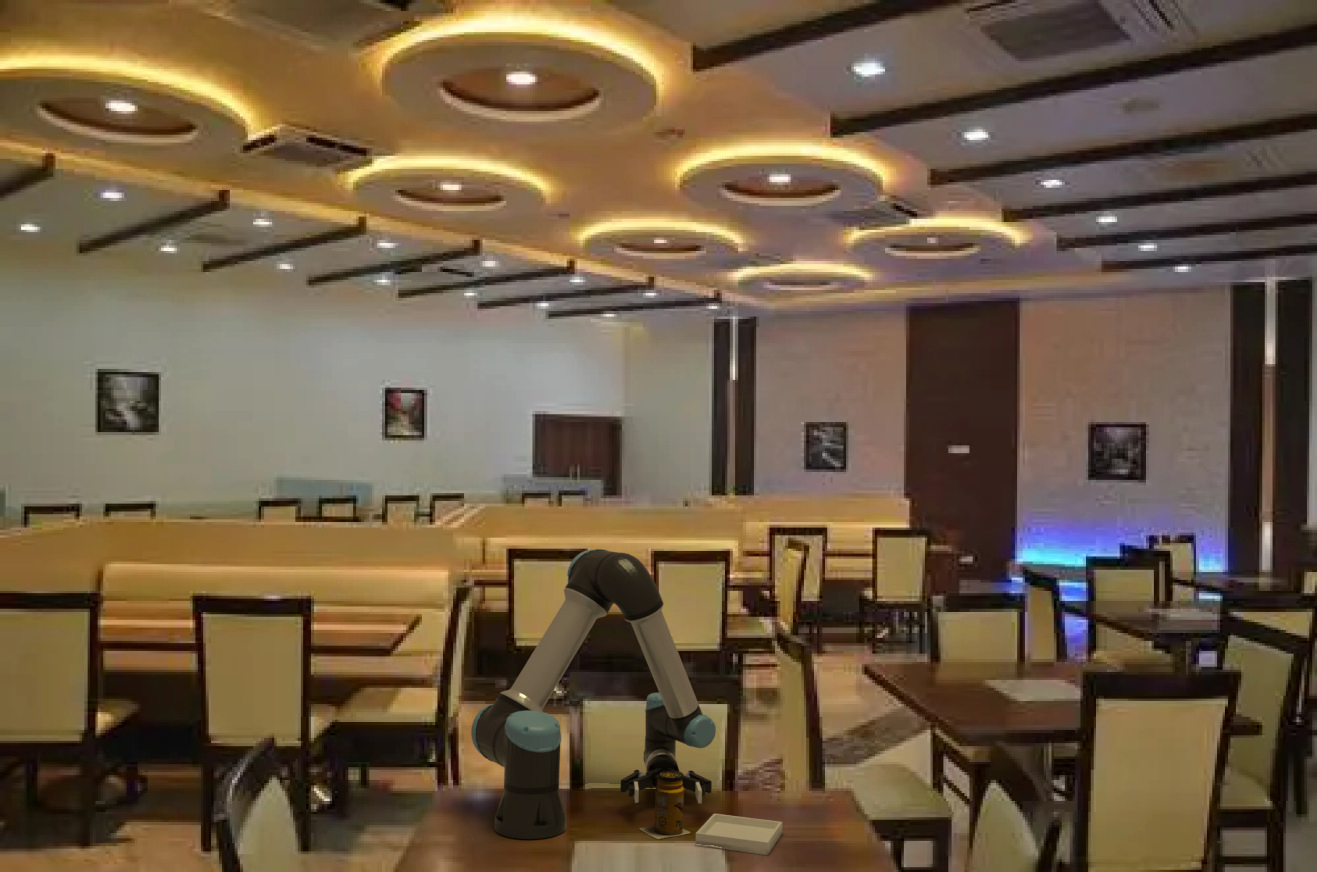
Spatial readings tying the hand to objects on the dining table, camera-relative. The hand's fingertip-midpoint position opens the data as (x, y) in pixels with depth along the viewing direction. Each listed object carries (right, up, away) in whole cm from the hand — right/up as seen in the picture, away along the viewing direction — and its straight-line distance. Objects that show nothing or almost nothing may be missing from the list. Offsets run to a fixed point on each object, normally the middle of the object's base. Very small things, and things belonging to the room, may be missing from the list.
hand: (668, 796), depth 236 cm
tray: (+15, -6, -8) cm, 18 cm away
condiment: (-1, -7, -3) cm, 7 cm away
